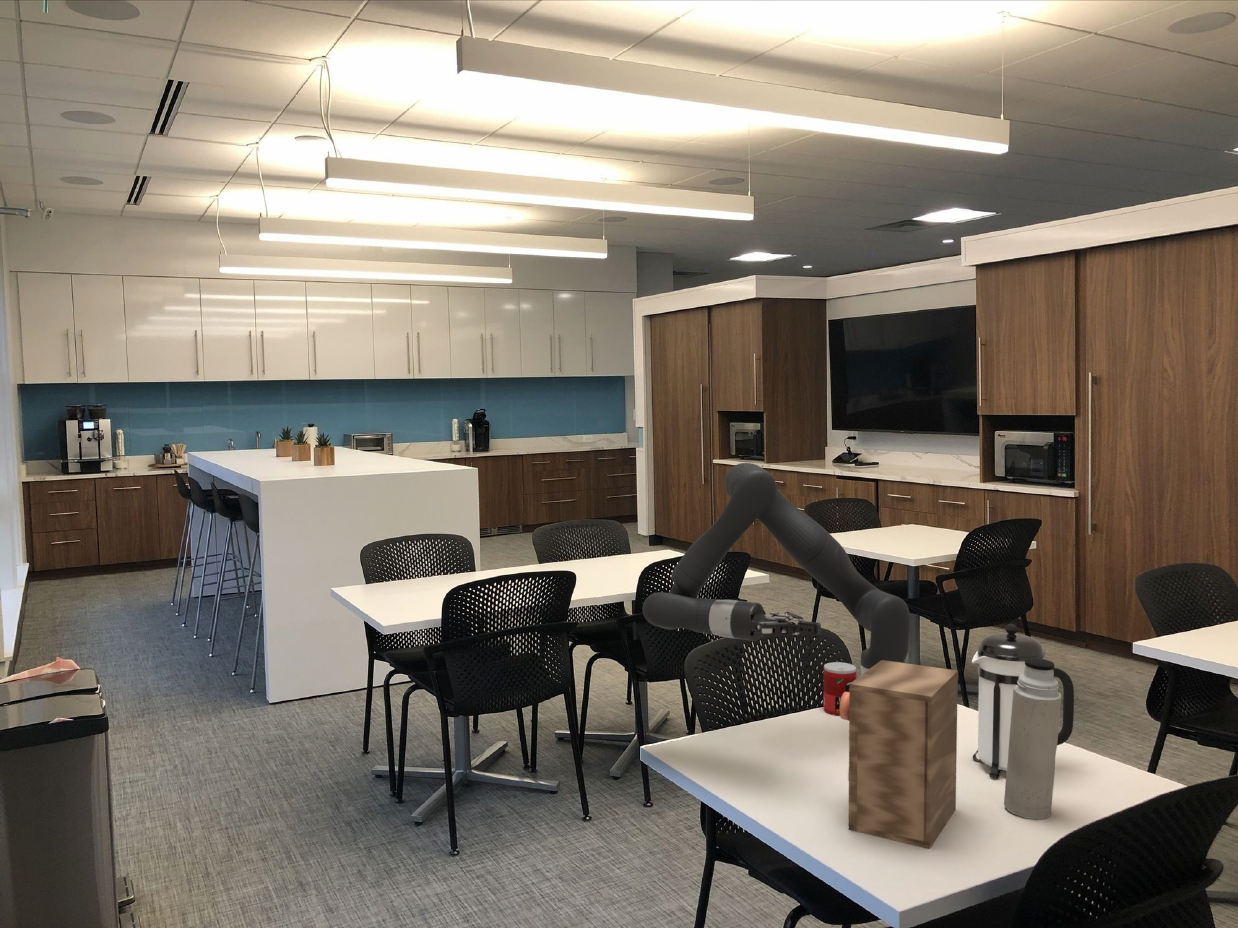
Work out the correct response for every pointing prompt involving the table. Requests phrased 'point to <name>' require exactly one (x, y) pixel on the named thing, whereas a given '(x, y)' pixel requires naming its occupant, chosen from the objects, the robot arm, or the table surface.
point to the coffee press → (1008, 693)
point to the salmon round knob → (844, 706)
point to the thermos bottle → (1033, 741)
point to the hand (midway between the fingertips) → (819, 629)
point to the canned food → (836, 684)
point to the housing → (903, 751)
